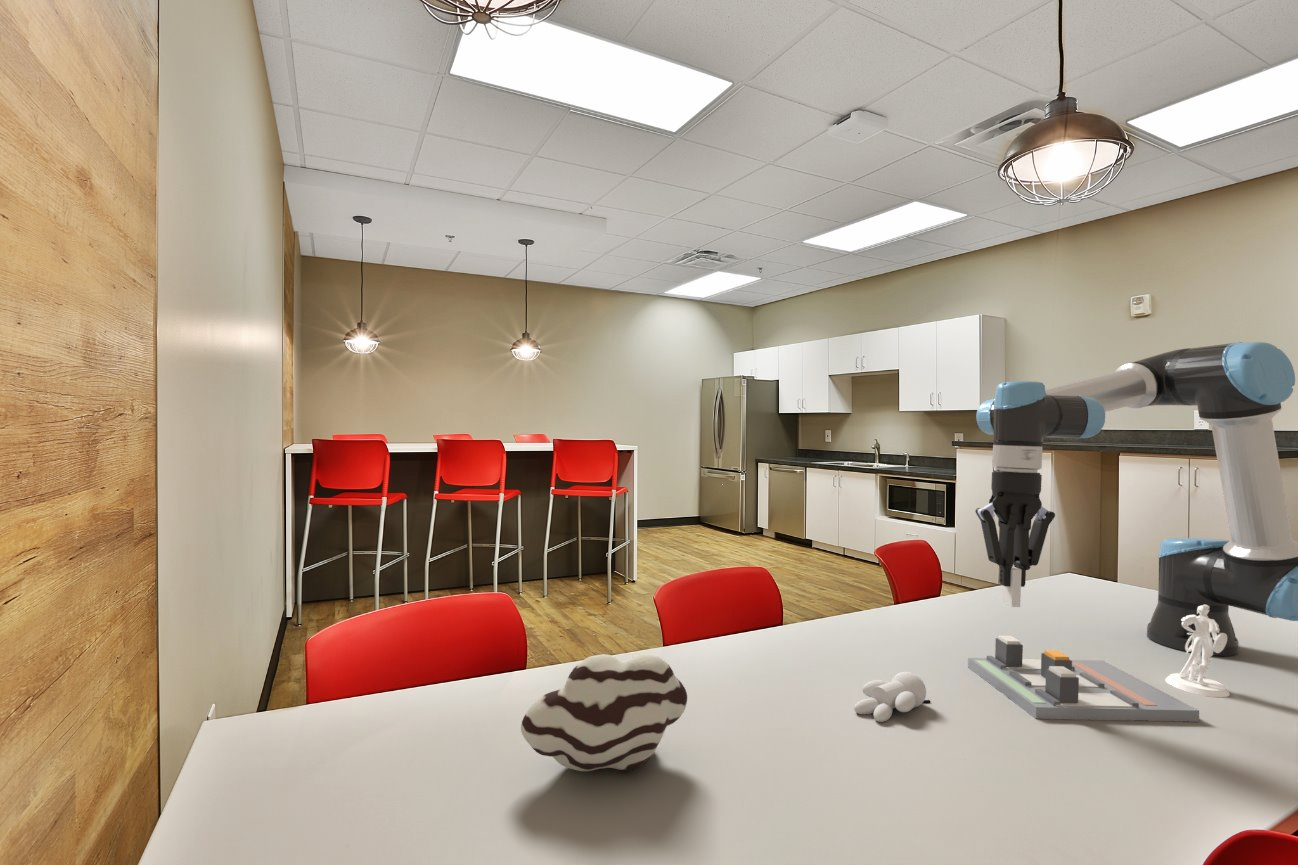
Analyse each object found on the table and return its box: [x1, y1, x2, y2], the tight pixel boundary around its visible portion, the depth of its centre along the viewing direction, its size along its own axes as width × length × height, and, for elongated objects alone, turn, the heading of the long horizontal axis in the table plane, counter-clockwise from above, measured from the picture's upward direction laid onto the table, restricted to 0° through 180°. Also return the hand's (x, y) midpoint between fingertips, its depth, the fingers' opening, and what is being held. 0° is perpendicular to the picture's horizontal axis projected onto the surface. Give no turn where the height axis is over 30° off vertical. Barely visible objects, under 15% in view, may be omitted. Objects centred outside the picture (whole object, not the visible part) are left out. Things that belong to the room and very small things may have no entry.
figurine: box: [1165, 605, 1231, 698], centre depth 114 cm, size 9×9×15 cm
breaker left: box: [994, 635, 1024, 667], centre depth 117 cm, size 3×4×5 cm
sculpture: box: [520, 653, 688, 772], centre depth 82 cm, size 22×12×15 cm, turn 106°
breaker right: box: [1045, 666, 1079, 703], centre depth 102 cm, size 3×4×5 cm
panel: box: [967, 655, 1200, 723], centre depth 110 cm, size 26×21×2 cm
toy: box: [853, 671, 932, 723], centre depth 102 cm, size 8×6×15 cm
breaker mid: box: [1040, 649, 1072, 678], centre depth 110 cm, size 3×4×5 cm
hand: (1011, 604), depth 110 cm, fingers closed
